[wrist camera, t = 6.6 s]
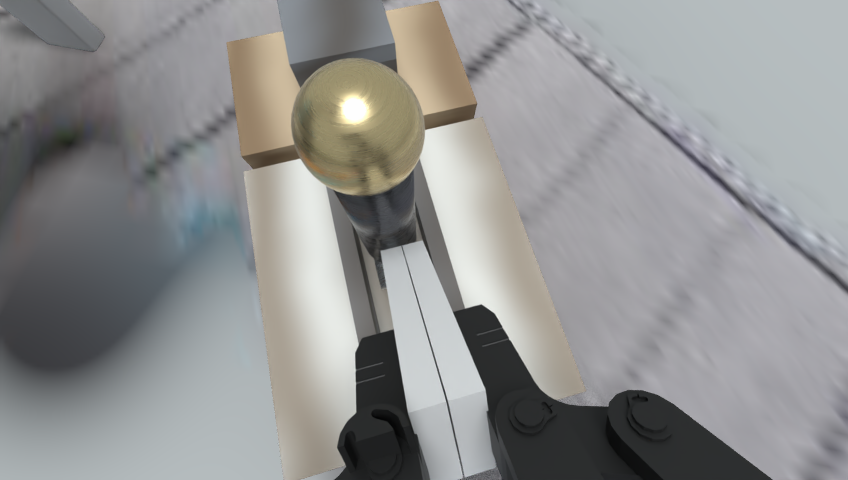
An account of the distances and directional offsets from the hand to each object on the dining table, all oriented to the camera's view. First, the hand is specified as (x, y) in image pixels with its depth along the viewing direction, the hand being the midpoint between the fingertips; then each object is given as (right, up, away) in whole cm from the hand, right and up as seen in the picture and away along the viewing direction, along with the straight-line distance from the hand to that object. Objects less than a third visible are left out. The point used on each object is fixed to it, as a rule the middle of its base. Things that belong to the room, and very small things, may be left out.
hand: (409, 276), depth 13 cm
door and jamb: (-2, +3, +10) cm, 10 cm away
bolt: (-2, +5, +6) cm, 8 cm away
